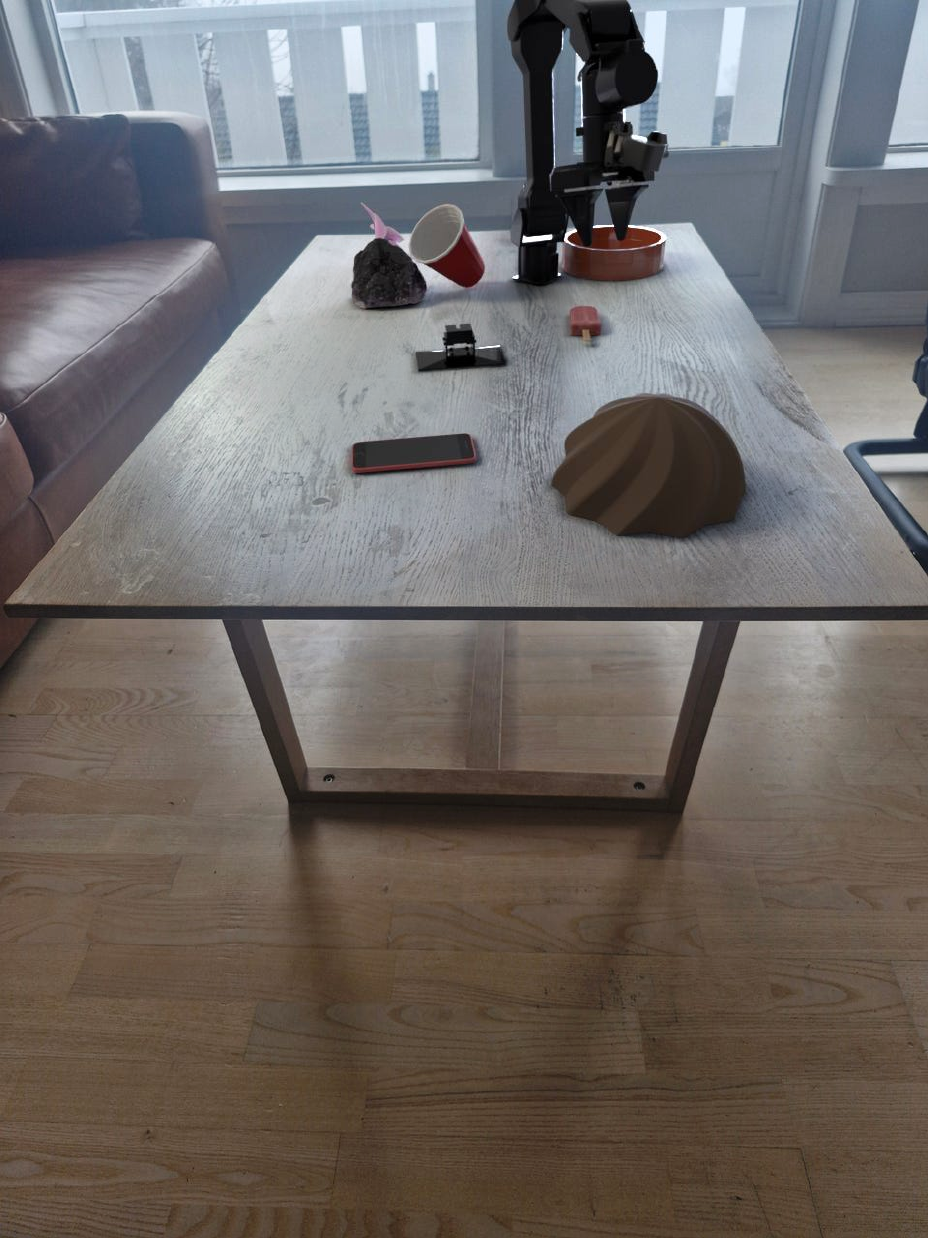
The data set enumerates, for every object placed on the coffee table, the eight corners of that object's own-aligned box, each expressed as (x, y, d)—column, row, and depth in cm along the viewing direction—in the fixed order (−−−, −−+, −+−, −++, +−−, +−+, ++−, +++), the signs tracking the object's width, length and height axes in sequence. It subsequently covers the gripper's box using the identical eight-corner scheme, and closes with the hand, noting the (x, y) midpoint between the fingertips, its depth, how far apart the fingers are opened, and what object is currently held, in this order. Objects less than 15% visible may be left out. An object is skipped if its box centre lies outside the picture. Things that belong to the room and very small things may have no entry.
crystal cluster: (408, 318, 131) (409, 253, 125) (333, 306, 134) (332, 242, 128) (436, 300, 141) (439, 239, 136) (366, 289, 144) (366, 229, 139)
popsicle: (571, 335, 114) (568, 304, 126) (571, 347, 115) (568, 315, 127) (603, 334, 114) (597, 303, 126) (602, 346, 115) (596, 314, 127)
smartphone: (351, 441, 92) (470, 431, 93) (352, 446, 93) (470, 436, 94) (350, 469, 87) (477, 458, 88) (351, 474, 87) (477, 463, 88)
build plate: (499, 348, 117) (499, 316, 114) (506, 366, 111) (506, 333, 108) (415, 354, 116) (413, 321, 113) (418, 372, 110) (415, 339, 107)
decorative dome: (756, 543, 74) (778, 445, 68) (543, 531, 77) (545, 435, 71) (737, 449, 89) (754, 361, 82) (559, 442, 92) (562, 356, 86)
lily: (403, 273, 153) (419, 221, 150) (344, 250, 151) (360, 197, 148) (401, 277, 164) (416, 229, 162) (346, 255, 162) (360, 206, 159)
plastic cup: (496, 233, 139) (460, 189, 129) (499, 287, 136) (463, 247, 126) (444, 256, 144) (406, 216, 134) (446, 309, 142) (407, 272, 132)
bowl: (542, 270, 147) (543, 241, 144) (596, 248, 158) (598, 221, 155) (629, 286, 137) (631, 255, 134) (680, 261, 148) (684, 232, 145)
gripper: (620, 104, 96) (621, 246, 103) (690, 107, 108) (686, 234, 115) (544, 118, 103) (550, 251, 110) (618, 120, 115) (619, 238, 122)
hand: (604, 243), depth 114 cm, fingers open, 9 cm apart
